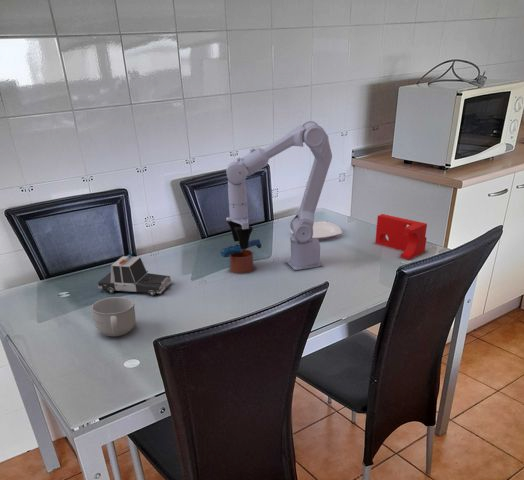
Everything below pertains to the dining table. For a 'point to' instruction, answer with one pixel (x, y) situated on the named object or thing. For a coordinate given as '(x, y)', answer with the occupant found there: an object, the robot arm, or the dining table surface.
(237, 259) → the cup
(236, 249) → the figurine
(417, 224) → the bracket
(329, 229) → the plate
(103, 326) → the teacup
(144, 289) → the toy car
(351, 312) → the dining table surface
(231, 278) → the dining table surface
